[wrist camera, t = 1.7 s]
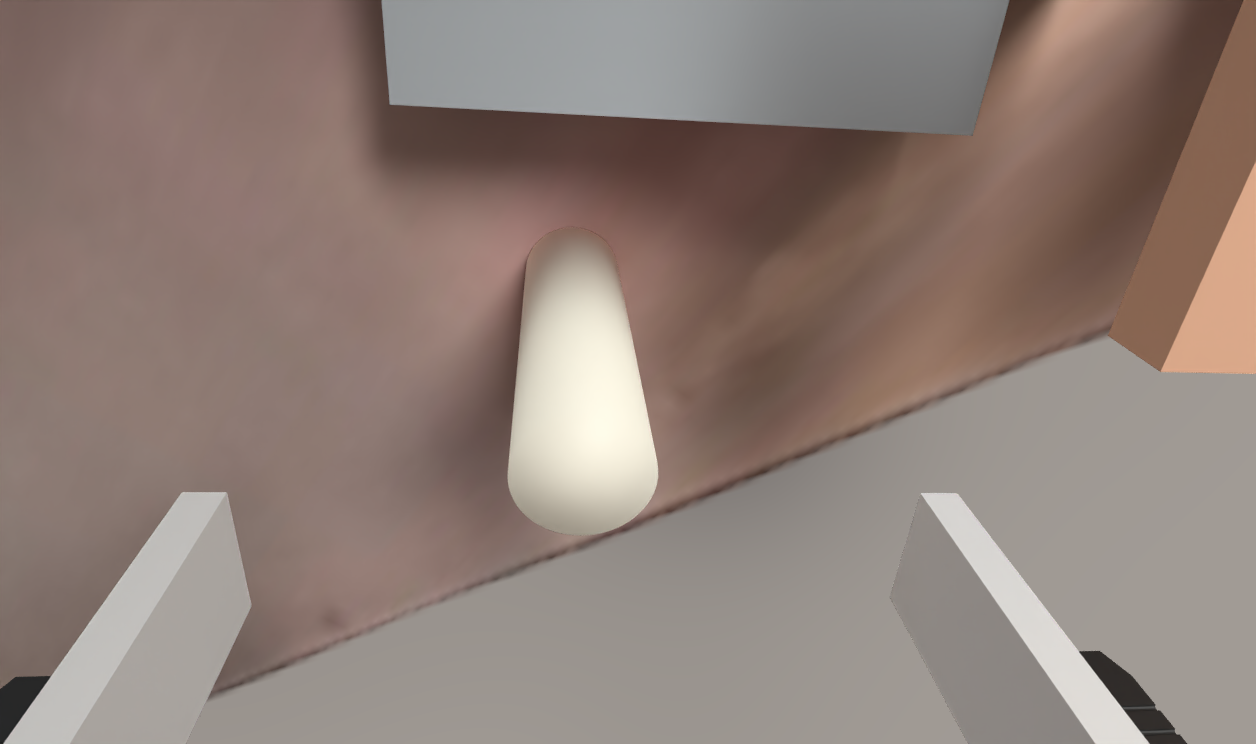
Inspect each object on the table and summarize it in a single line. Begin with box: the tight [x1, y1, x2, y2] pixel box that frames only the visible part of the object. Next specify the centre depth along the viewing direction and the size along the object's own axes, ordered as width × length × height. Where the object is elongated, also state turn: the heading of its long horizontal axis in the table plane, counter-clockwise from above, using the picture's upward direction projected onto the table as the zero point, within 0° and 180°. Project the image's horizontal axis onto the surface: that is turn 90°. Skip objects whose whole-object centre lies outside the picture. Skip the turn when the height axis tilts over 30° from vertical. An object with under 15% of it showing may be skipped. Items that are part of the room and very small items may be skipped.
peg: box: [508, 227, 658, 536], centre depth 22 cm, size 3×3×12 cm
